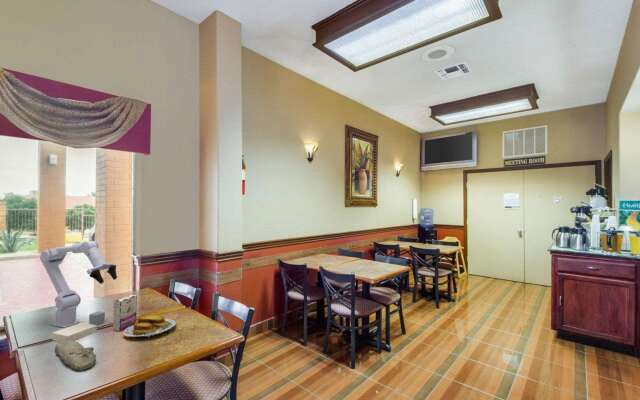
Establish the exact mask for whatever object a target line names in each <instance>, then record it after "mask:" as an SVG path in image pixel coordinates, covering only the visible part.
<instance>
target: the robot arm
mask: <svg viewBox="0 0 640 400" xmlns="http://www.w3.org/2000/svg"><path fill="white" fill-rule="evenodd" d="M68 253H73V254H81V253H82V254H84V255H85V256H87V258H88V260H89V262H90V264H91V265H92V268H88V269H87V270H86V273H87V274H88V275H89V277H90V278H92V279H94V280H95V281H96V282H98V283H99V284H100V285H102V284H103V283H104V282H105V281H104V278H103V277H102V274H101V271H104V270H106V272H107V273H108V275H110V277H111V278H112V280H114V281H115V280H116V279H118V275H117V265H116V263H115V262H113V263H107V262H106V260H105V259H104V257H103V255H102V254H101V252H100V250H99V244H98V242H97V241H94V240H91V241H86V240H85V241H83V242H81V241H76V242H75V243H73V244H72V245H70V246H69V245H67V246H59V247H58V246H57V247H52V248H49V249H46V250H45V249H44V250H43V251H41V253H40V256H39V259H40V261H41V263H42V266H43V267H44V269H45V271H46V273H47V274H48V277H49V279H50V282H51V283H52V285H53V287H54V289H55V291H56V293H57V295H56V297H55V298H54V301H55V307H56V309H57V310H56V311H55V312H54V313H55V314H54V323H53V324H52V326H55V327H60V328H63V329H64V328H67V327H70V326H73V325H76V324H79V323H81V321H80V320H77V308H78V307H79V305H80V304H81V301H82V299H81V295H79V294H78V293H77V292H76V291H75V290H73V289H70V287H69V285H68V283H67V281H66V279H65V277H64V275H63V273H62V271H61V269H60V265H61V264H62V263H63V261H64V260H65V258H66V256H67V254H68Z"/></svg>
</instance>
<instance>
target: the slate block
mask: <svg viewBox="0 0 640 400" xmlns="http://www.w3.org/2000/svg"><path fill="white" fill-rule="evenodd" d="M105 316H106V312H104V311H95V312H92V313H90V314H89V318H88V319H89V321H88V324H92V325H97V327H98V326H99V325H103V324H105V322H106V321H105V319H106V318H105Z"/></svg>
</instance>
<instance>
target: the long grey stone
mask: <svg viewBox="0 0 640 400" xmlns="http://www.w3.org/2000/svg"><path fill="white" fill-rule="evenodd" d="M54 350H55V351H56V352H55V354H56V355H58V356H59V358H60V360H61V361H63V362H64V364H65V365H67V366H69V368H71V370H75V371H84V370H88V369H89V368H91V367H93V365H94V364H95V363H96V361H97V355H96V354H95V353H94V350H95V348H94V347H93V346H91V347H89V346H88V347H84V346H83V344H81V343H79V342H78V341H77V340H75V341H74V339H67V340H63V341H60V342H58V343H56V344H55V347H54Z"/></svg>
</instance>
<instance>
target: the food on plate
mask: <svg viewBox="0 0 640 400" xmlns="http://www.w3.org/2000/svg"><path fill="white" fill-rule="evenodd" d="M176 324H177V322H176V321H175V320H173V319H169V318H165V317H164V316H162V315H159V314H148V315H143V316H141V317H139V318H138V319H137V321H136V323H135V324H134V325H132V326H130V327H128V328H126V329H124V330H123V333H122V336H124V337H125V338H126V340H128V339H129V338H136V337H148V339H149V338H150V336H154V335H158V334H159V335H160V334H162V333H164V332H167V331H168V330H171V329H172V328H173V327H175V326H176Z"/></svg>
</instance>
